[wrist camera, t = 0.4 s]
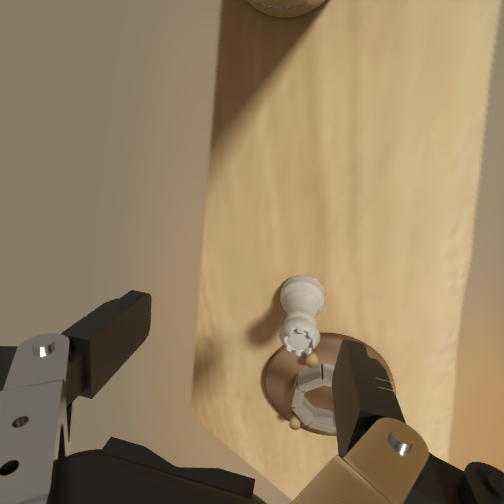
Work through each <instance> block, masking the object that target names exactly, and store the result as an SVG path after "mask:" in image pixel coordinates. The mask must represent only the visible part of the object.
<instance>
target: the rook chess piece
mask: <svg viewBox="0 0 504 504" xmlns="http://www.w3.org/2000/svg"><path fill="white" fill-rule="evenodd" d="M324 300H325V292H324V289H323V286H322V285H321V284H320V283H319V282H318V281H317V280H316V279H314V278H312V277H310V276H304V275H298V276H294V277H291V278H290V279H288V280H287V281H286V282H284V284H283V286H282V288H281V297H280V301H281V304H282V307H283V309H284V310H285V311H286V313H287V316H286V318H285V320H284V324H283V326H282V328H281V329H280V339H281V341H282V343H283V344H284V345H285V350H286V351H287V352H288V353H290V352H291V351H294V352H295V356H298V357H301V353H304V352H305V354H306V355H307V356H308V355H310V354H311V353H312V349H315V348H316V346H317V345H318V344H319V342H320V333H319V330H318V328H317V322H316V319H315V317H316V315H317V314H319V313H320V311H321V310H322V308H323V306H324Z"/></svg>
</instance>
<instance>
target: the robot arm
mask: <svg viewBox="0 0 504 504" xmlns="http://www.w3.org/2000/svg"><path fill="white" fill-rule="evenodd" d="M246 1H247V2H248V3H250V4H251V5H252V6H253V7H254V8H255V9H257V10H259V11H261V12H262V13H264V14H266V15H269V16H274V17H278V18H290V17H296V16H299V15H303V14H306V13H308V12H310V11H312V10H313V9H315V8H317V7H319V6H320V5H321V4H322V3H324V2H325V1H326V0H246ZM150 321H151V295H150V294H148V293H144V292H139V291H134V290H131V291H129V292H128V293H127V294H125V295H124V296H123V297H121V298H120V299H114V300H112V301H109V302H106V303H104V304H102V305H101V306H99V307H98V308H97V309H95V311H92V312H91V313H89V314H88V315H87V317H86V316H85V317H84V318H82V319H81V320H80V321H78V322H77V323H75V324H74V325H72V326H71V327H70V328H68V329H67V330H65V331H64V332H62V333H61V334H57V333H48V334H42V335H38V336H35V337H32V338H30V339H28V340H26V341H24V342H23V343H21V345H19V347H13V346H10V347H9V346H0V504H266V503H265V502H264V501H263V500H262V499H260V498H259V497H257V496H256V495H254V494H253V489H254V483H255V479H253V478H249V477H245V476H242V475H239V474H236V473H232V472H229V471H225V470H222V469H219V468H181V467H176V466H174V465H172V464H170V463H169V462H167V461H166V460H164V459H163V458H161V457H160V456H158V455H157V454H155V453H154V452H152V451H151V450H149V449H148V448H146V447H144V446H141V445H137V444H134V443H131V442H127V441H124V440H120V439H117V438H113V437H111V438H110V439H109V440H108V442H107V443H106V445H105V446H104V447H103V449H95V450H88V451H83V452H78V453H75V454H72V455H70V452H71V436H72V419H73V401H74V400H75V399H76V398H77V396H83V397H86V398H90V399H92V398H93V397H94V396H95V395H96V394H97V393H98V392H99V390H100V389H101V388H102V387H103V386H104V385H105V384H106V383H107V382H108V381H109V379H110V378H111V377H112V376H113V375H114V374H115V373H116V372H117V371H118V370H119V368H120V367H121V366H122V365H123V364H124V363H125V362H126V361H127V359H129V357H130V356H131V355H132V354H133V353H134V352H135V351H136V350H137V349H138V347H139V346H140V345H141V344H142V343H143V342H144V341H145V339H146V338H147V336H148V333H149V330H150ZM332 394H333V404H334V413H335V423H336V433H337V442H338V452H339V454H338V455H336V456H335V457H333V458H332V459H331V460H330V461H329V463H328V464H327V465H326V466H325V467H324V468H323V469H322V470H321V471H320V472H319V473H318V474H317V475H316V476H315V477H314V479H313V480H312V481H311V482H310V483H309V484H308V485H307V486H306V487H305V488H304V489H303V490H302V491H301V492H300V493H299V494H298V496H297V497H296V498H295V499H294V500H293V501H292V502H291V503H290V504H504V473H503V472H502V471H500V470H498V469H497V468H495V467H493V466H491V465H488V464H485V463H481V462H472V463H469V464H468V465H467V466H466V468H465V470H464V471H462V470H460V469H458V468H456V467H454V466H452V465H450V464H448V463H447V462H445V461H443V460H441V459H439V458H437V457H435V456H434V455H432V454H431V453H429V451H428V447H427V445H426V443H425V441H424V440H423V439H422V437H421V436H420V435H419V434H418V433H417V432H416V431H415V430H414V429H413V428H411V427H410V426H409V425H407V424H406V422H405V420H404V417H403V414H402V412H401V409H400V406H399V404H398V401H397V398H396V396H395V393H394V392H393V387H392V385H391V383H390V379H389V377H388V374H387V371H386V369H385V368H384V367H383V366H382V365H381V364H380V362H379V361H378V360H377V359H374V358H370V357H368V353H367V350H366V347H365V344H364V343H363V342H359V341H354V340H350V339H345V338H344V339H343V340H342V343H341V346H340V350H339V353H338V357H337V360H336V364H335V367H334V371H333V376H332Z"/></svg>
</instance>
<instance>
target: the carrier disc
mask: <svg viewBox="0 0 504 504" xmlns="http://www.w3.org/2000/svg"><path fill="white" fill-rule="evenodd" d="M344 338H345V339H350V340H354V341H359V342H361V341H360V340H357V339H355V338H352V337H349V336H345V335H341V334H335V333H320V342H319V344H318V345H317V346H316V348H315V349H312V353H311V354H310V355H308V356H307V355H306V354H305V352H304V353H301V357H298V356H295V352H294V351H291V352H290V353H288V352H287V351H286V350H285V345H283V346H282V347H280V348H279V349H278V350H277V351H276V352H275V354H274V355H273V357H272V358H271V361H270V363H269V366H268V370H267V375H266V391H267V395H268V397H269V399H270V401H271V403H272V405H273V406H274V408H275V409H276V410H277V411H278V412H279V413H280V414H281V415H282V416H283V417H284V418H285V419H286V420H288V421H289V422H290V428H292V429H294V430H298V429H299V428H302V429H304V430H307V431H310V432H313V433H316V434H321V435H328V436H337V433H336V423H335V413H334V404H333V394H332V376H333V371H334V367H335V364H336V360H337V357H338V353H339V350H340V346H341V343H342V340H343V339H344ZM364 344H365V343H364ZM365 347H366V350H367V353H368V357H370V358H374V359H377V360H378V361H379V362H380V364H381V365H382V366H383V367H384V368H385V369H386V371H387V374H388V377H389V379H390V383H391V385H392V387H393V392H394V393H395V396H396V387H395V383H394V380H393V376H392V373H391V371H390V368H389V366H388V365H387V363H386V361H385V360H384V359H383V358H382V356H381V355H380V354H379V353H378V352H376V351H375V350H374V349H373V348H371V347H370V346H369V345H367V344H365Z"/></svg>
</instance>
